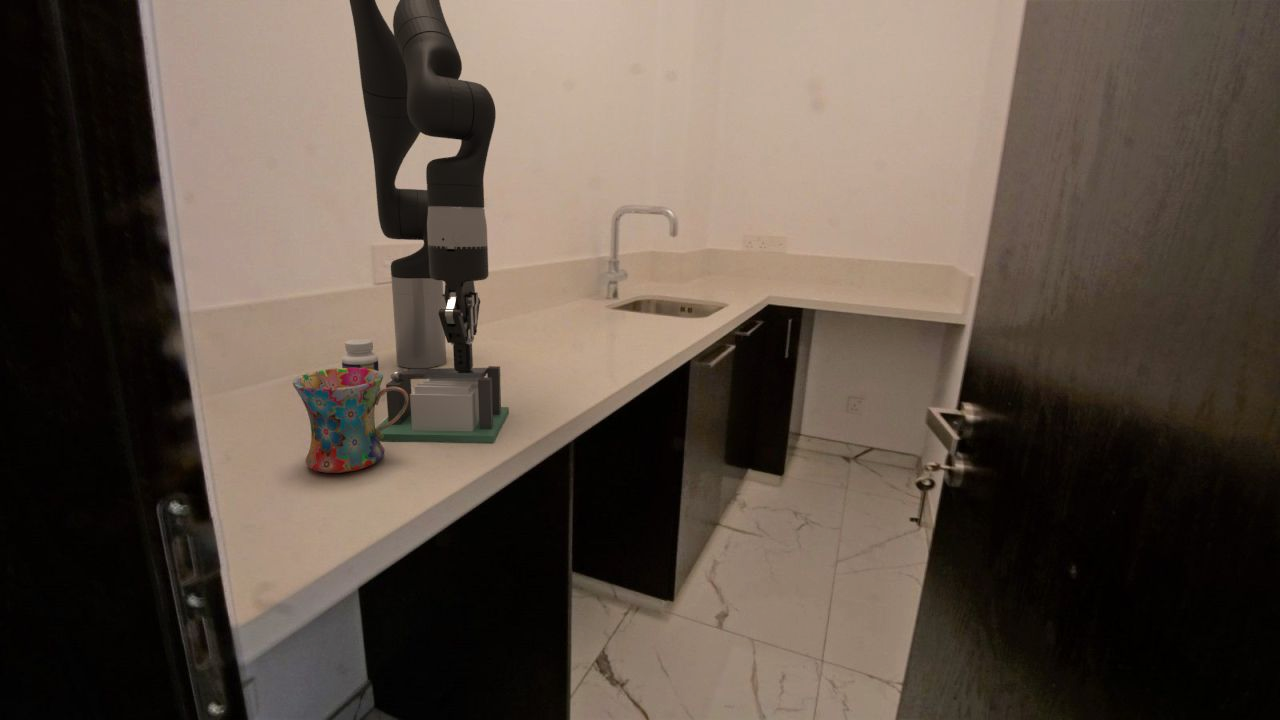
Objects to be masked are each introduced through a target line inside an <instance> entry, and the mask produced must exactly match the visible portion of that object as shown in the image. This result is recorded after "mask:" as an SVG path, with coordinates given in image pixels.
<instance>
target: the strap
mask: <svg viewBox="0 0 1280 720" xmlns="http://www.w3.org/2000/svg"><path fill="white" fill-rule="evenodd" d="M487 373H488V367H472V369H471V370H470V371H468V372H462V371H456V370H455V369H454V367H452V368H450V367H448V368H441V367H440V368H439V367H438V368H407V370H406V369H404V367H400V368H398V369H397V370H396V371H394V372H393V373H392V374H391V375H390V379H391V381H392V380H397V379H399V378H402V379H411V380H427V379H442V378H480V377H485V376H486V377H487Z"/></svg>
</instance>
